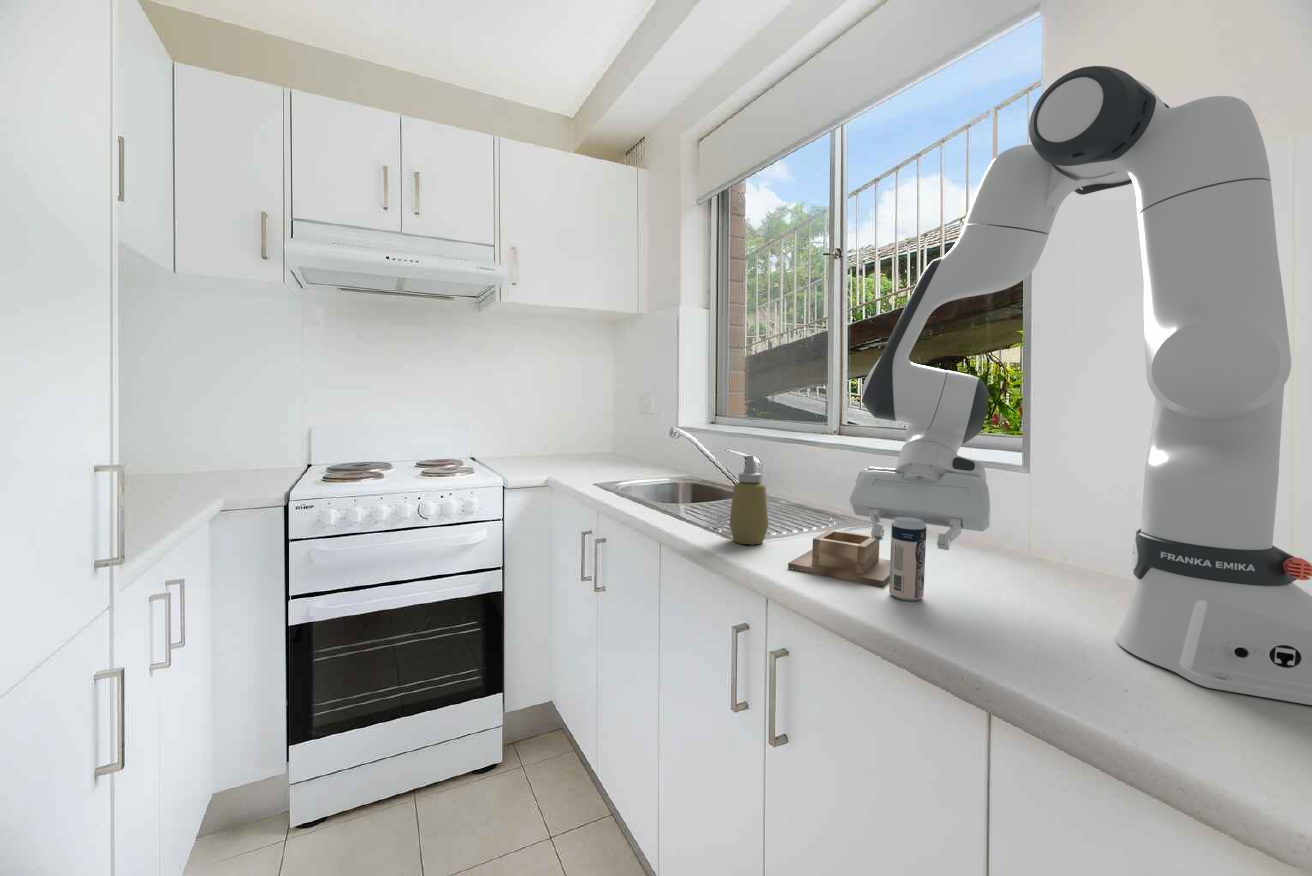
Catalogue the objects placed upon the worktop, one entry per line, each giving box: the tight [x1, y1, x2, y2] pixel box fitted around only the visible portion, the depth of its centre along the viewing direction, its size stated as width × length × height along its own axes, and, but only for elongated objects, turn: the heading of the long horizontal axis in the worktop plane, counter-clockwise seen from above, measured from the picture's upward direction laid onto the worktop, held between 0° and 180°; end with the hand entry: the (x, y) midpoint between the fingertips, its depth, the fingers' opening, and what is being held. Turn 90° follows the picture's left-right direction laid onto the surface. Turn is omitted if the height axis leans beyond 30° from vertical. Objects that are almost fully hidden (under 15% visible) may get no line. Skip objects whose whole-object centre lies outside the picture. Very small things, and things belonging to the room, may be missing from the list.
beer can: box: [888, 516, 928, 602], centre depth 87 cm, size 5×5×12 cm
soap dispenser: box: [729, 455, 769, 546], centre depth 118 cm, size 8×8×18 cm
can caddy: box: [787, 529, 890, 588], centre depth 101 cm, size 16×13×6 cm
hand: (908, 542), depth 87 cm, fingers open, 8 cm apart
